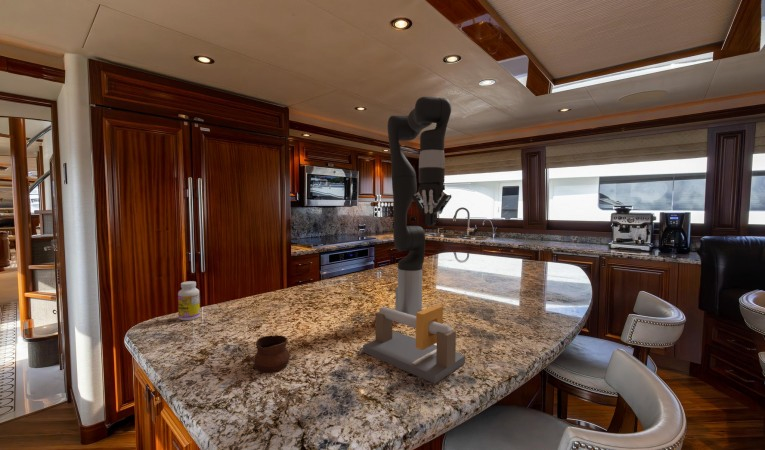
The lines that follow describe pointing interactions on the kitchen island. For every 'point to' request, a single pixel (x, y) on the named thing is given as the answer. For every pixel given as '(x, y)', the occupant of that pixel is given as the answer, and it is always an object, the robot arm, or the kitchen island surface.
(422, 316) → the orange square ring
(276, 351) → the ceramic pot
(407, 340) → the pipe stand
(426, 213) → the robot arm
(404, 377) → the kitchen island surface
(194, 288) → the supplement bottle
